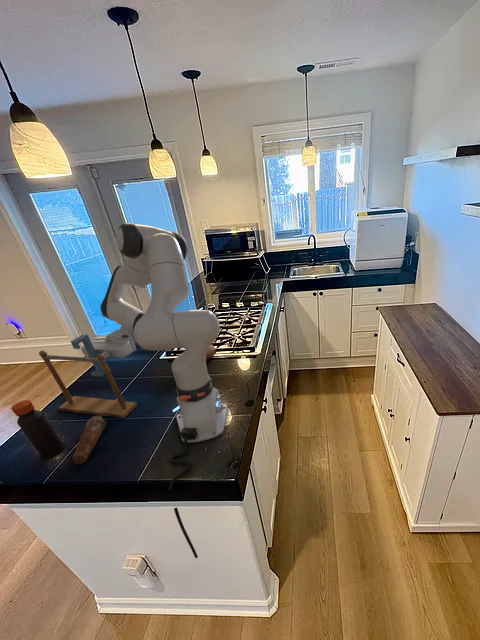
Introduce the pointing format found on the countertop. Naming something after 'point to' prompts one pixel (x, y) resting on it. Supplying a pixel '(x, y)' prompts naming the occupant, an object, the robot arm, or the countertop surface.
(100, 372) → the hanger
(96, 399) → the rail stand
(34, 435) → the bottle
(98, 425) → the bread
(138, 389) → the countertop surface
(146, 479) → the countertop surface
